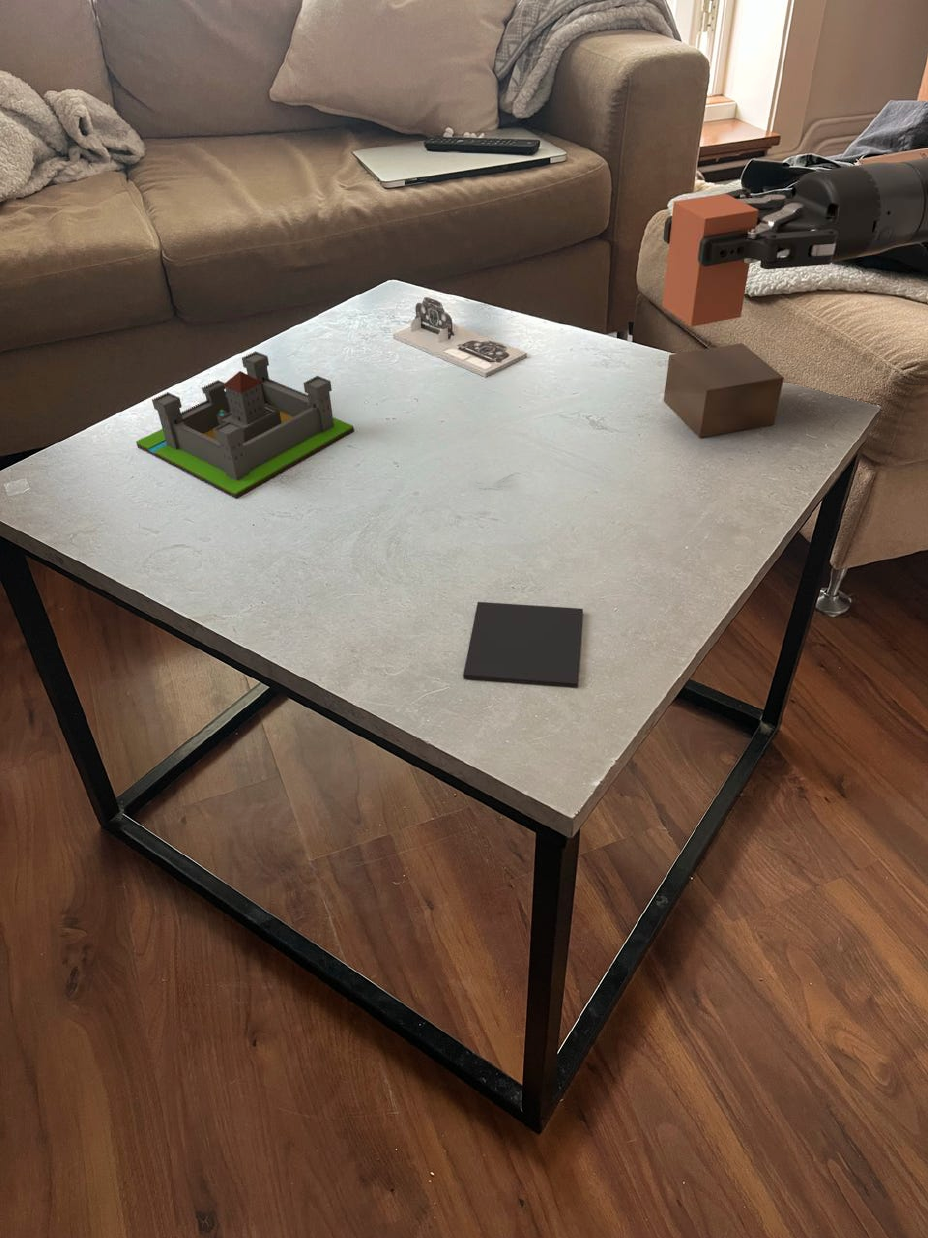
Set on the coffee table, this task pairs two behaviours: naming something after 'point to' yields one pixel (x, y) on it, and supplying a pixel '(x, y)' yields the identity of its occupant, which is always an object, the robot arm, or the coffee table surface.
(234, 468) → the castle model
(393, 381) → the coffee table surface
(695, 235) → the top block
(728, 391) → the base block
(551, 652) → the felt mat
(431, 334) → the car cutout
